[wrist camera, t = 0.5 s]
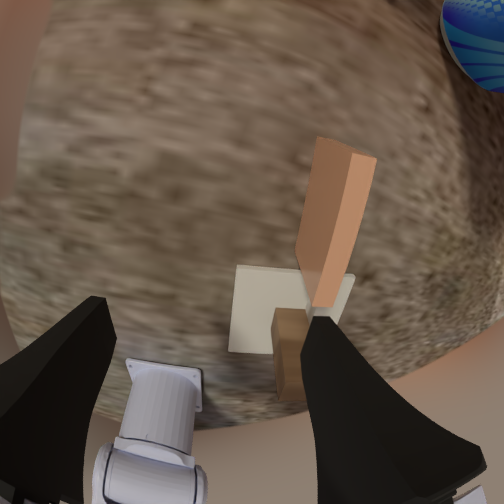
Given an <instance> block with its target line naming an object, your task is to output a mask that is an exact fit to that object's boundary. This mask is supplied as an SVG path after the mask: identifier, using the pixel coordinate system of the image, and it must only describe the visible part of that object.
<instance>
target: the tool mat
mask: <svg viewBox="0 0 504 504" xmlns="http://www.w3.org/2000/svg"><path fill="white" fill-rule="evenodd" d="M354 281H355V276H354V274H344V277H343V280H342V283H341V285H340V288H339V291H338V294H337V297H336V299H335V302H334V305H333V307H327V309H326V312H325V315H324V316H330V317H331V318H332V320H333V321H334V322H335V323H336V324H337V323H338V321H339V318H340V316H341V314H342V311H343V309H344V306H345V304H346V301H347V299H348V296H349V294H350V291H351V289H352V286H353V283H354ZM308 298H309V296H308V293H307V289H306V286H305V283H304V279H303V276H302V273H301V270H295V269H283V268H271V267H260V266H248V265H237V268H236V277H235V286H234V296H233V305H232V315H231V325H230V334H229V344H228V352H242V353H259V354H273V348H272V338H271V325H272V320H273V316H274V312H275V308H293V309H305V308H306V305H307V302H308Z"/></svg>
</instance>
